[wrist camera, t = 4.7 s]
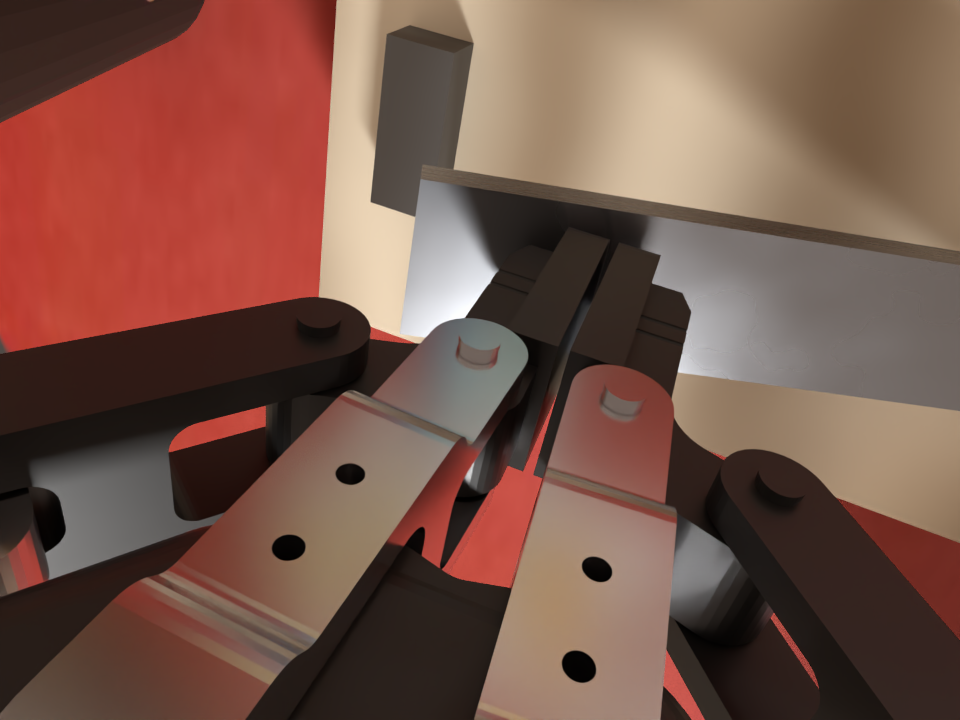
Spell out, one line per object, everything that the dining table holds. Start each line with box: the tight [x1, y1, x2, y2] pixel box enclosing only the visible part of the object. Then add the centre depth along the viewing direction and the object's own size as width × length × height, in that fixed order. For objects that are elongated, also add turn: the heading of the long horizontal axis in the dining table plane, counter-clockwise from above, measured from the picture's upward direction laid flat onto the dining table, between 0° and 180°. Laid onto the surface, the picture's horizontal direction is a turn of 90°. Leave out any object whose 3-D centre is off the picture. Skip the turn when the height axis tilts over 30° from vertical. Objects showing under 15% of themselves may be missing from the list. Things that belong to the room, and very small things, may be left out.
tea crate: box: [319, 0, 960, 543], centre depth 19 cm, size 24×13×8 cm, turn 80°
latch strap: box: [400, 165, 960, 411], centre depth 14 cm, size 16×3×1 cm, turn 79°
